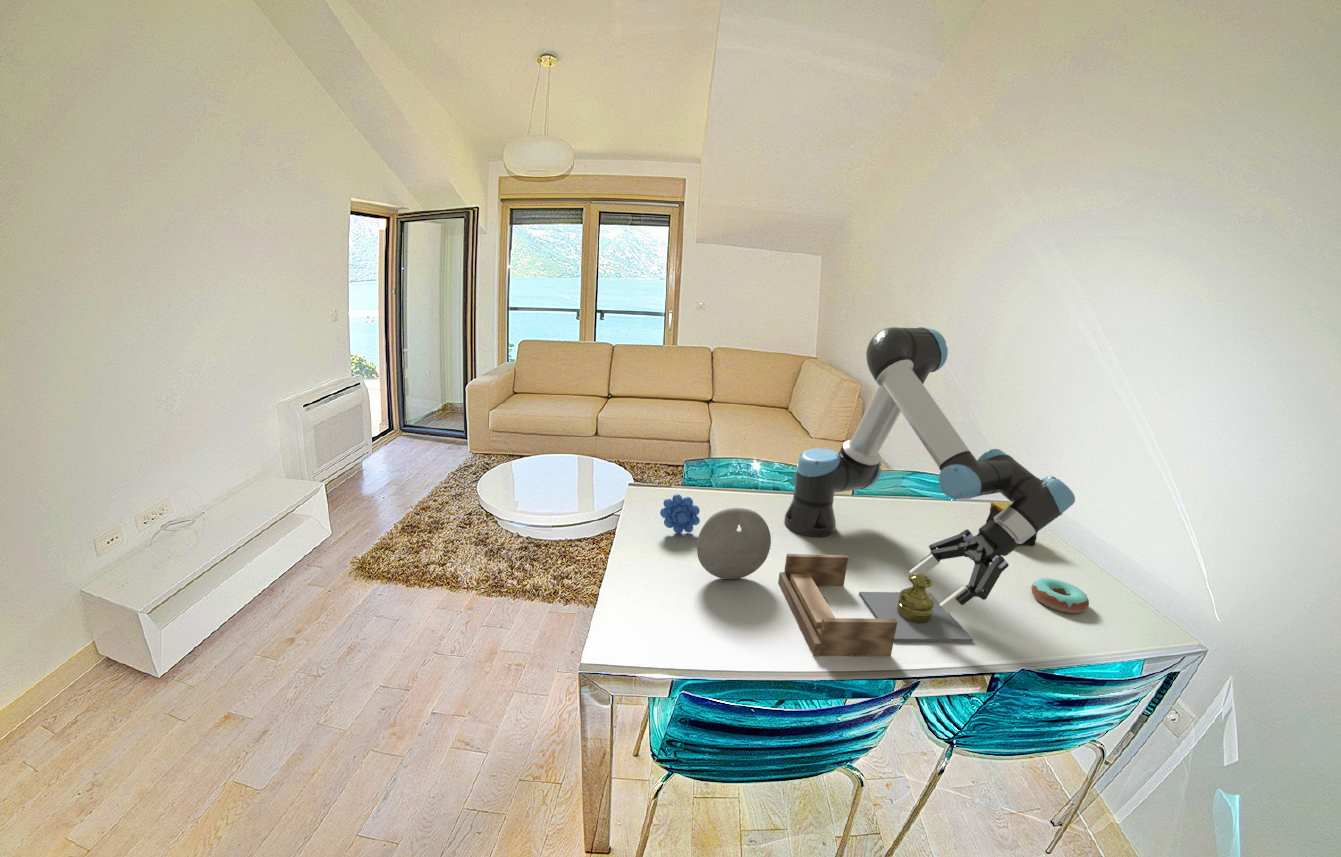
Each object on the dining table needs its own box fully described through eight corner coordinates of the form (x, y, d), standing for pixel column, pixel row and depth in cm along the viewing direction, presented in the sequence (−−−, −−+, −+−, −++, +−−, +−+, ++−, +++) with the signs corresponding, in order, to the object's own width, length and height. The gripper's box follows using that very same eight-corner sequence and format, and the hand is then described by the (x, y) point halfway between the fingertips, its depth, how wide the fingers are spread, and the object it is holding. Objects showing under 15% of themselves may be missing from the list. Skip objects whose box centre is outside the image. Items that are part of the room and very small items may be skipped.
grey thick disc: (761, 570, 147) (769, 502, 142) (770, 584, 141) (779, 514, 136) (691, 571, 144) (696, 502, 139) (696, 587, 138) (703, 515, 132)
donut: (1046, 585, 150) (1050, 571, 148) (1096, 610, 140) (1101, 595, 138) (1019, 595, 144) (1022, 580, 143) (1069, 621, 134) (1073, 606, 133)
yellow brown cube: (982, 530, 180) (989, 501, 177) (1013, 531, 181) (1020, 502, 178) (1003, 546, 170) (1011, 515, 167) (1035, 546, 171) (1043, 516, 168)
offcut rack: (841, 583, 143) (846, 555, 141) (890, 656, 117) (897, 622, 115) (778, 582, 142) (781, 553, 140) (813, 656, 116) (818, 621, 113)
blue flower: (661, 540, 159) (663, 500, 156) (657, 529, 166) (659, 491, 163) (701, 539, 162) (705, 500, 158) (696, 529, 168) (700, 490, 165)
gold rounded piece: (915, 626, 126) (923, 586, 123) (889, 608, 132) (896, 569, 130) (938, 619, 129) (947, 580, 127) (911, 602, 136) (919, 564, 133)
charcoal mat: (929, 595, 141) (930, 592, 140) (972, 642, 123) (973, 638, 123) (858, 594, 139) (859, 591, 139) (892, 641, 122) (892, 638, 122)
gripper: (1054, 572, 115) (967, 636, 118) (980, 519, 139) (910, 573, 142) (1035, 548, 113) (948, 613, 116) (964, 498, 137) (893, 553, 140)
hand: (927, 591), depth 129 cm, fingers open, 13 cm apart
